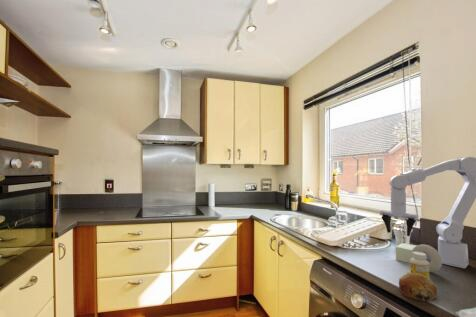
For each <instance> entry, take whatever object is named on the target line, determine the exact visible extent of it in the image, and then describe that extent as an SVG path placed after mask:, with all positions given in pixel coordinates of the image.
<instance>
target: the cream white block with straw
mask: <svg viewBox="0 0 476 317" xmlns="http://www.w3.org/2000/svg"><path fill="white" fill-rule="evenodd" d="M402 217H403V216H402ZM400 219H401V220H399V221H396V222H395V223H394V224H393V226H391V227H392V228H391V230H393V233H394V236H395V244H396V246H398V245H400V244H402V243H406V244H410V241H411V236H412V235H411V234H412V232H414V231H413V230H414V229H413V228H412V230H411V234H410V236H407V223H406V220H404V218H400ZM396 246H395V247H396Z"/></svg>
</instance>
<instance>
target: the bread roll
mask: <svg viewBox="0 0 476 317" xmlns="http://www.w3.org/2000/svg"><path fill="white" fill-rule="evenodd" d="M398 287H399V291H400V293H401V294H402V295H403V296H405V297H407V298H408V299H409V298H410V299H413V300H416V301H421V302H431V301H433V300H435V299H436V298H437V296H438V291H437V286H436V285H435V283H434V281H432V280H431V278H430V277H429V278H427V277H425V276H423V275H422V274H419V273H410V272H408V271H407V272H406V274H404V275H402V276H401V277H399V279H398Z"/></svg>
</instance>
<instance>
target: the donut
mask: <svg viewBox="0 0 476 317" xmlns="http://www.w3.org/2000/svg"><path fill="white" fill-rule="evenodd" d="M412 252H422V253H425V254H427V256H429V258H430V262H429V261H428V262H429V273H435V272H437V271H439V270H440V269H441V268H442V266H443V264H442V258H441V256H440V254H439V253H438V249H436V248H434V247H433V246H432V245H428V244H423V243H422V244H421V243H420V244H418V245H416V247H414V248H413V250H412ZM412 258H413V256H412Z"/></svg>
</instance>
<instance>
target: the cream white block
mask: <svg viewBox="0 0 476 317" xmlns="http://www.w3.org/2000/svg"><path fill="white" fill-rule="evenodd" d="M416 246H417V245H415V244H412V243H411V244H410V243H409V244H406V243H402V244H400V245H398V246H395V260H397V261H399V262H404V263H408V264H410V259H411V258H412V250H413V248H414V247H416Z"/></svg>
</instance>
